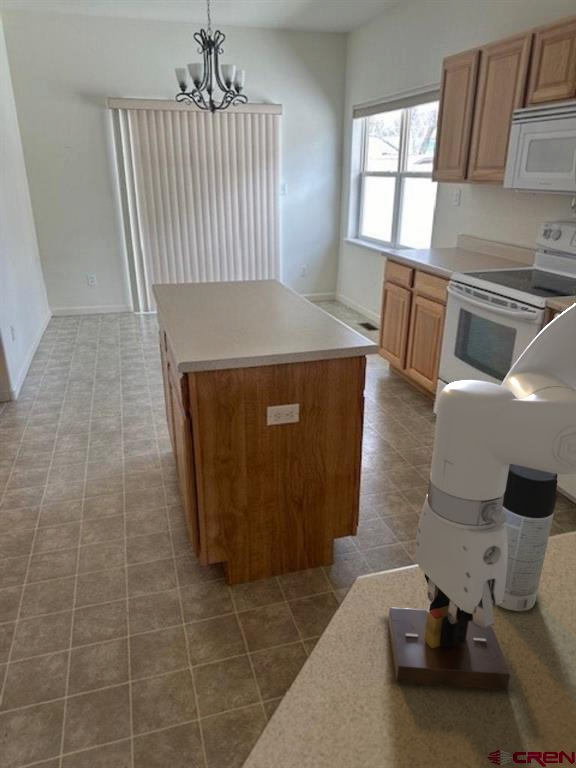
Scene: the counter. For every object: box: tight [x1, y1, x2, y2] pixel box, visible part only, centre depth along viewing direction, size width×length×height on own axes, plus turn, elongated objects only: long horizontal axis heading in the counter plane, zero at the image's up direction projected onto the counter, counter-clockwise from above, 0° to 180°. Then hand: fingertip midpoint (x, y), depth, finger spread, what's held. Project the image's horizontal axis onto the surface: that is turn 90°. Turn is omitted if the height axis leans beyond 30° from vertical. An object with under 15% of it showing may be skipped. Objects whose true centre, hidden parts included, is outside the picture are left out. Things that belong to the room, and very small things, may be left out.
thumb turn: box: [424, 605, 469, 648], centre depth 61 cm, size 5×2×4 cm, turn 112°
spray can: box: [498, 464, 559, 612], centre depth 69 cm, size 7×7×20 cm
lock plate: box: [387, 607, 511, 690], centre depth 63 cm, size 12×9×3 cm
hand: (445, 635), depth 62 cm, fingers closed
